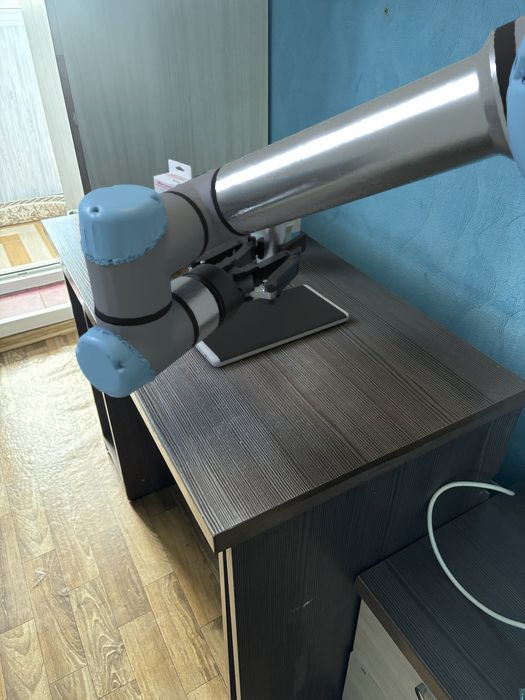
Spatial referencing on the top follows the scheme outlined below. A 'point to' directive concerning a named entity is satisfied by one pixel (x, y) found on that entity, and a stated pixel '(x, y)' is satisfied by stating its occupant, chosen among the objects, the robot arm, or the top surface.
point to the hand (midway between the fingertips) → (292, 238)
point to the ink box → (172, 177)
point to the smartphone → (270, 325)
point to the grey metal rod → (274, 241)
